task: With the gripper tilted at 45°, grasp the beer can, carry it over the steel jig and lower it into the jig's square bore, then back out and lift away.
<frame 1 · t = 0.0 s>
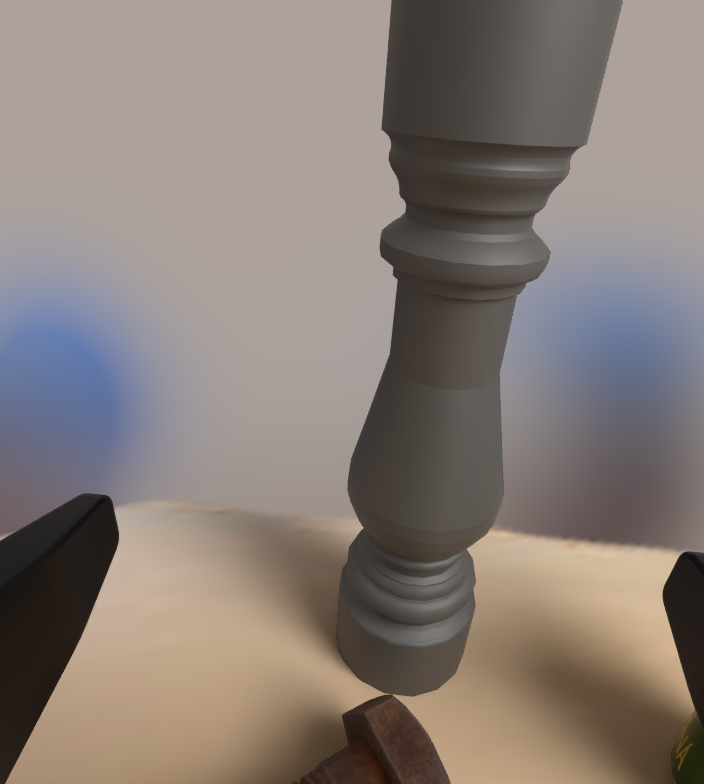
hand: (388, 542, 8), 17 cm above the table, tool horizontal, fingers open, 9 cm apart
turned furniture leg: (399, 635, 26), on the table
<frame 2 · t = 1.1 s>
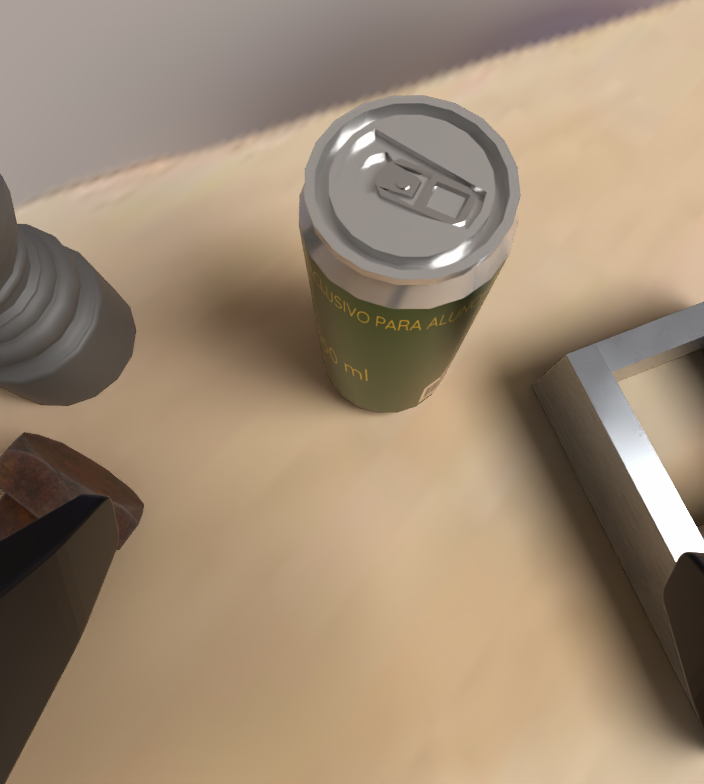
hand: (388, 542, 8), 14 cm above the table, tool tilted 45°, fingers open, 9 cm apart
jig: (675, 443, 22), on the table
beer can: (384, 359, 24), on the table
turned furniture leg: (69, 341, 24), on the table
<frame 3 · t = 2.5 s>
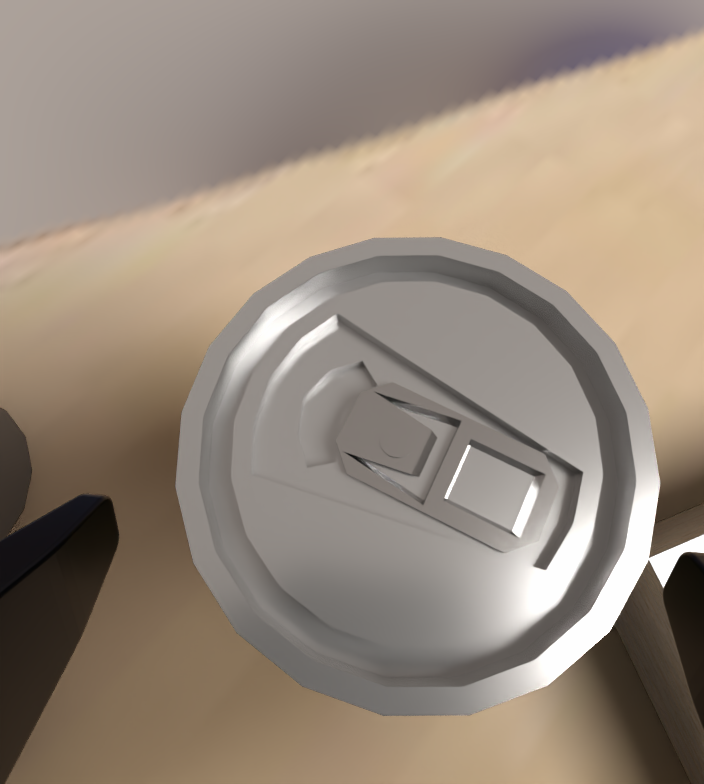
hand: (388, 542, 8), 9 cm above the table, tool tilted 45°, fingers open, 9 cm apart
beer can: (374, 513, 17), on the table
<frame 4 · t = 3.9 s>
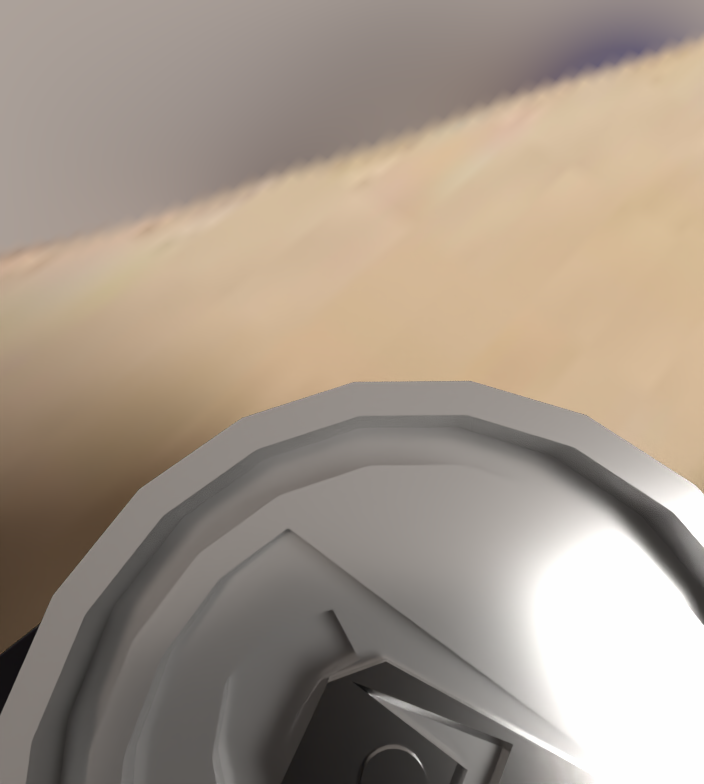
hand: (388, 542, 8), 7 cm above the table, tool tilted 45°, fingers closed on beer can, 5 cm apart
beer can: (370, 593, 15), on the table, touching gripper
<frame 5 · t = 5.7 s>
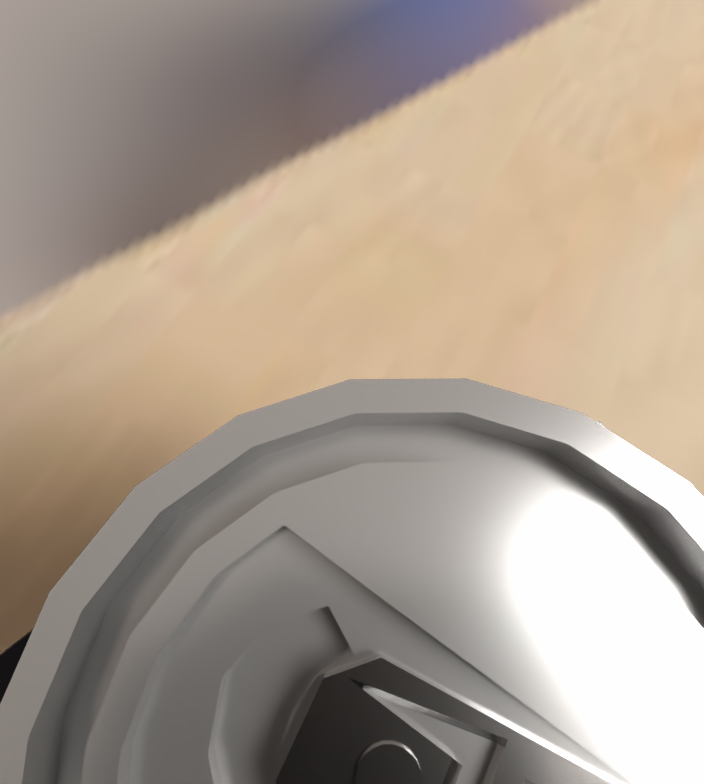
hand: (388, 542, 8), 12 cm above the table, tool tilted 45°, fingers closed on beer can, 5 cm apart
beer can: (369, 591, 15), point 5 cm above the table, touching gripper
when the fingers open (8 cm above the table, at t = 7.7 s): beer can drops 1 cm, resting in jig.
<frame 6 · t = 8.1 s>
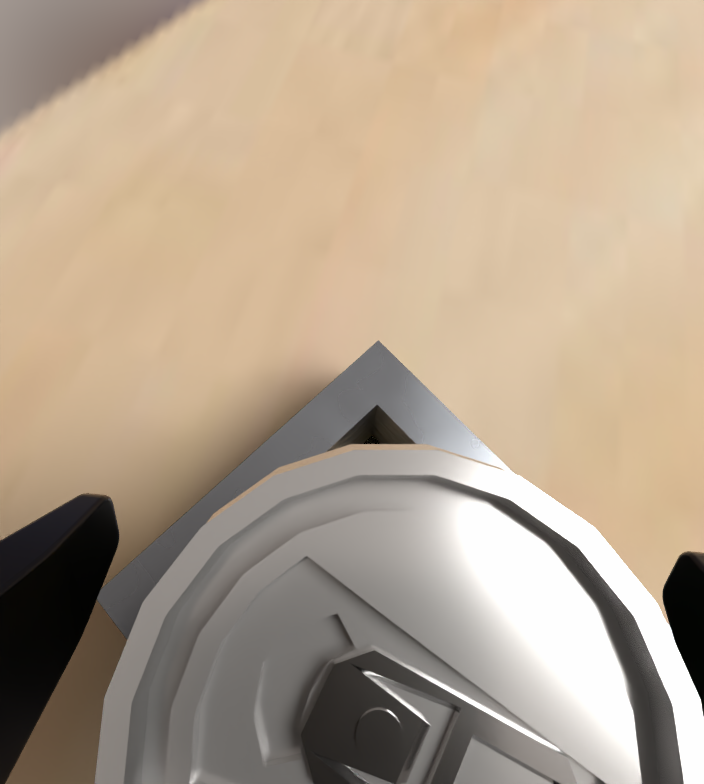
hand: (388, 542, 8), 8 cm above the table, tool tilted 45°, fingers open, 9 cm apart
jig: (369, 588, 16), on the table
beer can: (368, 595, 16), resting in jig
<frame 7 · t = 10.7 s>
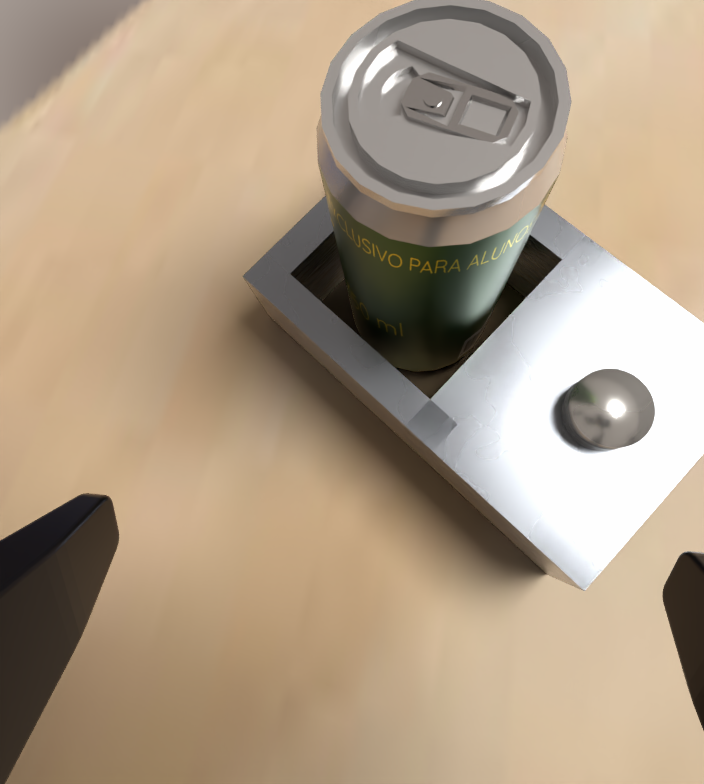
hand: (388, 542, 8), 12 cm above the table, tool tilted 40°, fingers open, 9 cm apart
jig: (418, 309, 22), on the table
beer can: (418, 315, 22), resting in jig
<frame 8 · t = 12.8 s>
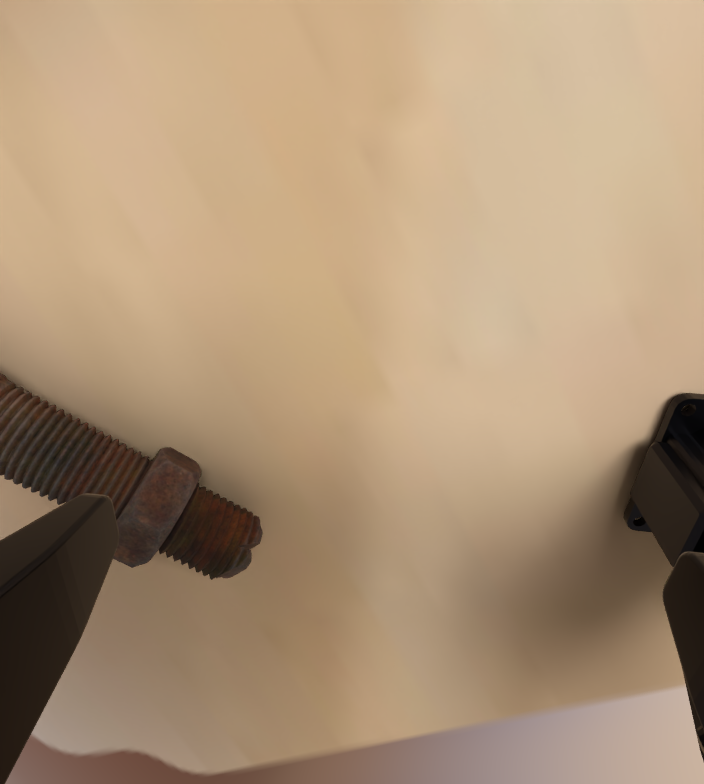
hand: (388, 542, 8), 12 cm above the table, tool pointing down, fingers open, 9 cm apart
bolt: (112, 435, 23), on the table
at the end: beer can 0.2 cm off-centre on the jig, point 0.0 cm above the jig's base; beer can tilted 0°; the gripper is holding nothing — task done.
